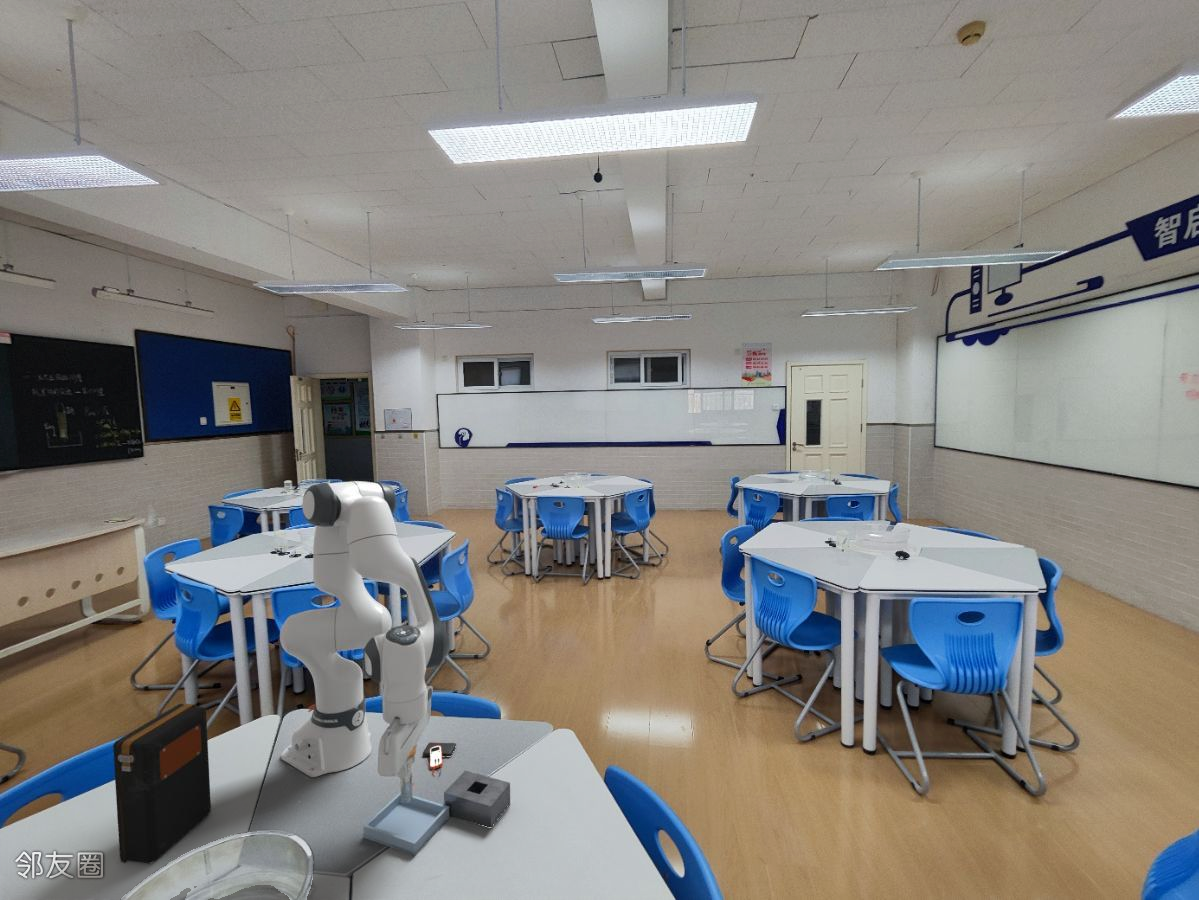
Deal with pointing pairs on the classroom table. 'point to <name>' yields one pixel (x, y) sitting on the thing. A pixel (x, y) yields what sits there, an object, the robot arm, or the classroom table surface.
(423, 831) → the tray
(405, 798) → the pin
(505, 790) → the block
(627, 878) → the classroom table surface
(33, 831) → the classroom table surface
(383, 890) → the classroom table surface
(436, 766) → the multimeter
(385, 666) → the robot arm
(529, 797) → the classroom table surface
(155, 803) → the black case
